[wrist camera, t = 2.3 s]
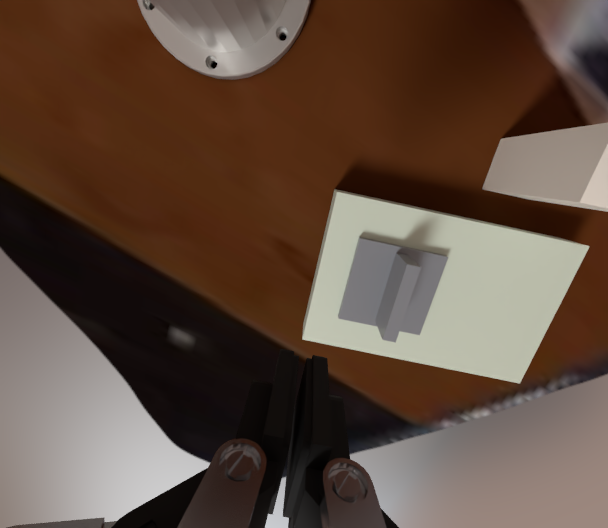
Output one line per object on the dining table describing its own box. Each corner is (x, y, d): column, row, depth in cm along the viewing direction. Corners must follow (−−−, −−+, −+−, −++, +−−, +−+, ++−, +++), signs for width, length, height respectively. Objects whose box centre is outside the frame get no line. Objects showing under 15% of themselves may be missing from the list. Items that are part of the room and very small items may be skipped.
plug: (500, 138, 25) (662, 114, 13) (548, 149, 25) (750, 134, 13) (481, 189, 26) (614, 207, 14) (527, 199, 26) (696, 225, 14)
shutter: (359, 236, 24) (366, 248, 21) (445, 255, 24) (466, 269, 21) (338, 315, 26) (341, 337, 23) (417, 331, 26) (432, 356, 23)
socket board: (334, 188, 26) (336, 191, 23) (560, 237, 27) (589, 246, 24) (303, 322, 30) (302, 339, 27) (500, 363, 31) (519, 383, 28)
